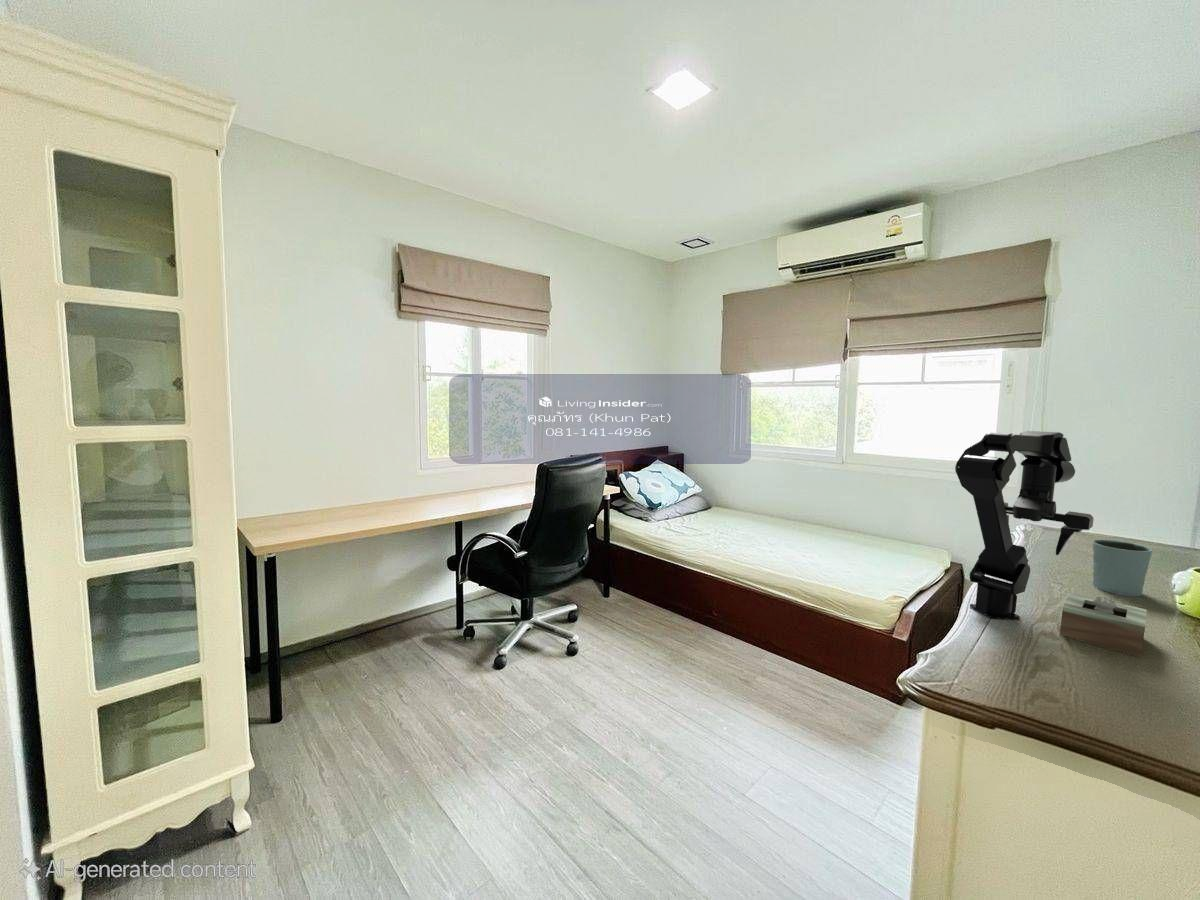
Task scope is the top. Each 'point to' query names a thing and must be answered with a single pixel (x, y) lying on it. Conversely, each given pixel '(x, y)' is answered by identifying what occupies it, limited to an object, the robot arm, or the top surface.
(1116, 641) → the box
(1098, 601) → the rook chess piece
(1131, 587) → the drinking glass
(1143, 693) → the top surface
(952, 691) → the top surface
